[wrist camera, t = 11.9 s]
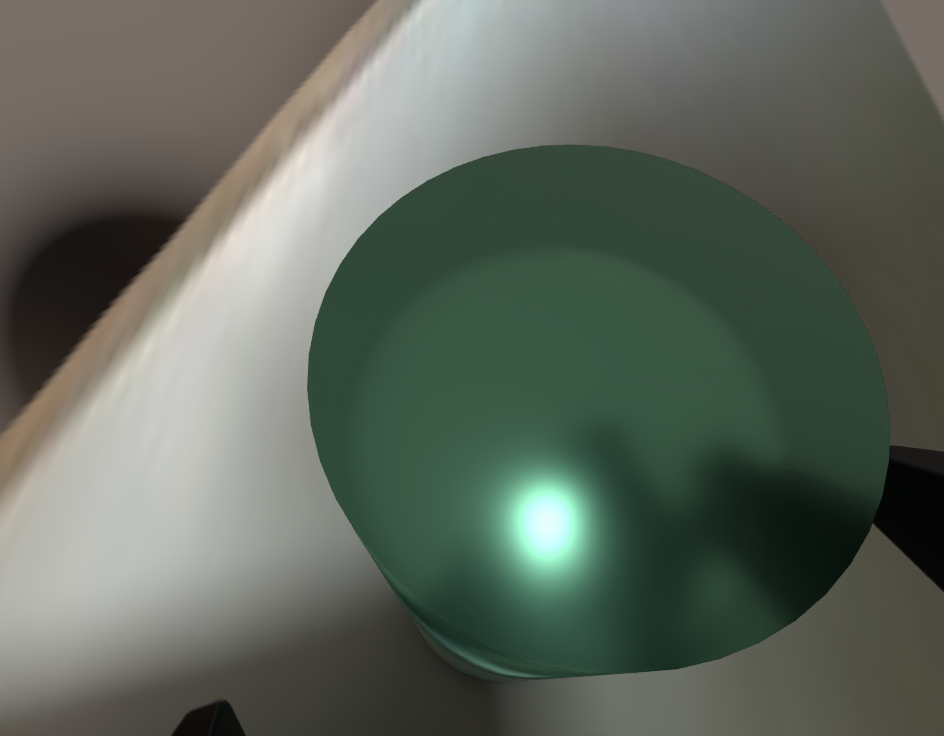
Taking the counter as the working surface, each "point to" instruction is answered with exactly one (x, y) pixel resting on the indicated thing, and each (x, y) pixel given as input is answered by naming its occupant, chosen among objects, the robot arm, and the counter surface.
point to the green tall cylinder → (595, 414)
